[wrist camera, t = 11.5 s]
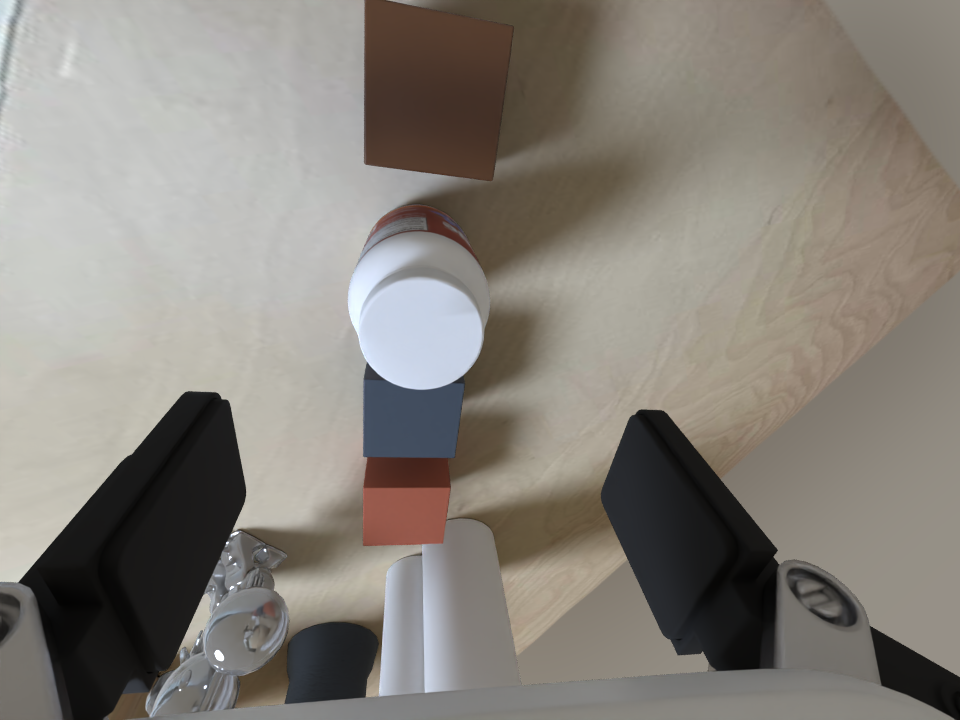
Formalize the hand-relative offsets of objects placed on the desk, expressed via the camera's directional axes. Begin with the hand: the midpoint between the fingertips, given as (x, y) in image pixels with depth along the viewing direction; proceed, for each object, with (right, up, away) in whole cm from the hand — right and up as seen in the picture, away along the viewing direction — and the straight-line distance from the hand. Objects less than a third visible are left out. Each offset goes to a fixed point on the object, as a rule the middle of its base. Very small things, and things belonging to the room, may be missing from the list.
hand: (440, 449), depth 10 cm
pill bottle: (-3, +8, +15) cm, 18 cm away
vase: (-2, -16, +29) cm, 34 cm away
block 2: (-4, +1, +19) cm, 19 cm away
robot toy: (-18, -14, +25) cm, 34 cm away
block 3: (-5, -6, +23) cm, 24 cm away
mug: (-15, -29, +34) cm, 47 cm away
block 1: (-1, +15, +11) cm, 19 cm away
